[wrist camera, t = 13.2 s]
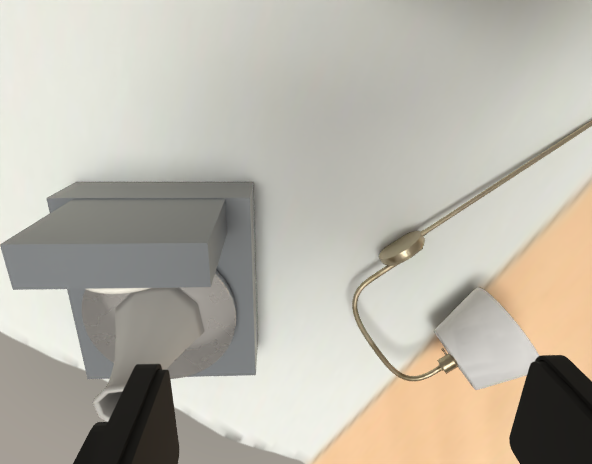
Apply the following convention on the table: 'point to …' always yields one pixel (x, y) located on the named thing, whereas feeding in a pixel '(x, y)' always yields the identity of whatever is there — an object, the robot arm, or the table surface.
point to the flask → (149, 337)
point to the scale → (144, 252)
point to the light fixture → (468, 315)
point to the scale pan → (200, 354)
